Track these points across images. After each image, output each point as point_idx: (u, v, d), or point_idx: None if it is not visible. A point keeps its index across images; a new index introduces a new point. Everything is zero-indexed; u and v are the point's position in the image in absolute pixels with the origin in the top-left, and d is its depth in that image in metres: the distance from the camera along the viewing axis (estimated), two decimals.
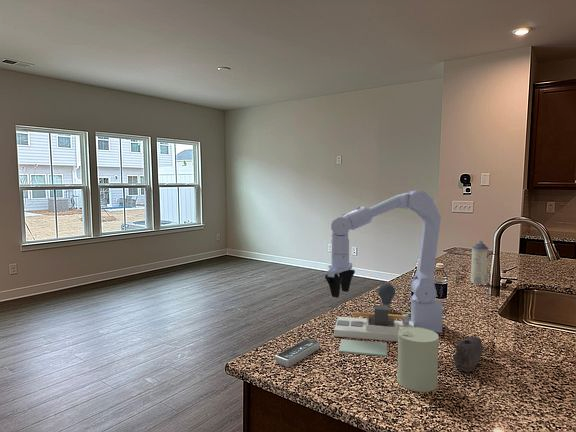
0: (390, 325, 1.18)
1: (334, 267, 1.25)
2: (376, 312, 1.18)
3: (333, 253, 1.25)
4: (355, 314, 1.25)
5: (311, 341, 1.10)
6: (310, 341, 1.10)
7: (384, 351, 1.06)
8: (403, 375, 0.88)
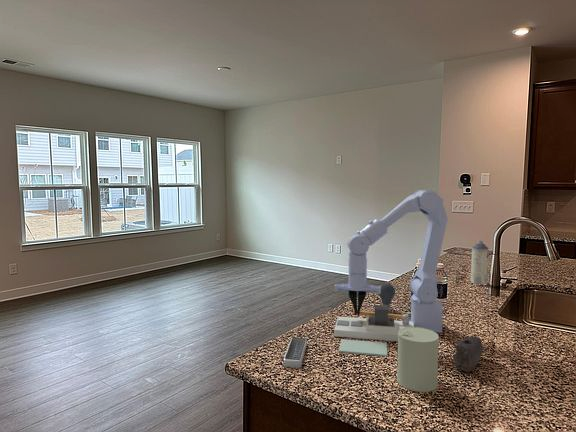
0: (390, 325, 1.18)
1: None
2: (376, 312, 1.18)
3: (351, 273, 1.22)
4: None
5: (299, 339, 1.11)
6: (298, 339, 1.11)
7: (384, 351, 1.06)
8: (403, 375, 0.88)
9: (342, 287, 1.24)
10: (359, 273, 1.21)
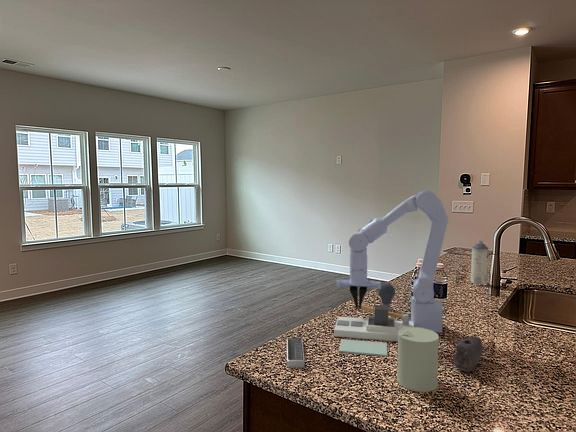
0: (390, 325, 1.18)
1: None
2: (376, 312, 1.18)
3: (351, 268, 1.29)
4: (361, 307, 1.31)
5: (295, 339, 1.11)
6: (294, 339, 1.11)
7: (384, 351, 1.06)
8: (403, 375, 0.88)
9: (344, 282, 1.30)
10: (357, 269, 1.27)
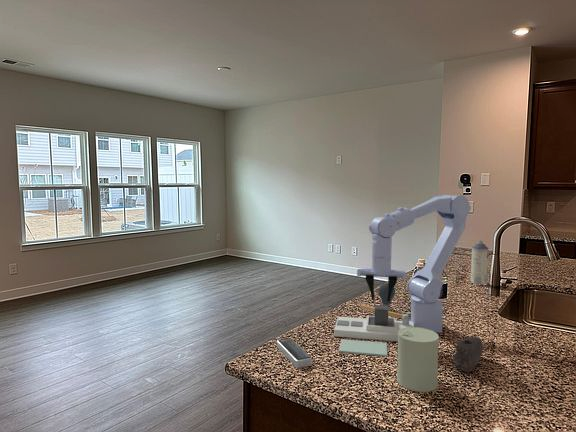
0: (390, 325, 1.18)
1: None
2: (376, 312, 1.18)
3: (378, 257, 1.16)
4: (362, 306, 1.32)
5: (285, 340, 1.11)
6: (285, 340, 1.10)
7: (384, 351, 1.06)
8: (403, 375, 0.88)
9: (365, 271, 1.19)
10: (386, 257, 1.16)
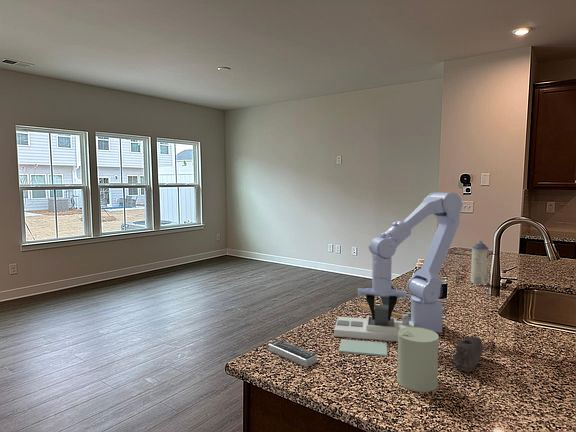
0: (390, 325, 1.18)
1: None
2: (376, 312, 1.18)
3: (378, 277, 1.17)
4: (362, 306, 1.32)
5: (277, 342, 1.09)
6: (277, 342, 1.09)
7: (384, 351, 1.06)
8: (403, 375, 0.88)
9: (366, 291, 1.19)
10: (386, 277, 1.17)
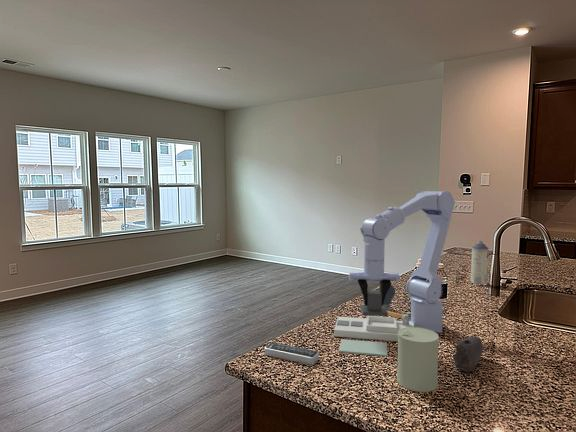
0: (383, 310, 1.13)
1: (364, 272, 1.15)
2: (369, 297, 1.13)
3: (372, 260, 1.11)
4: None
5: (272, 345, 1.07)
6: (272, 345, 1.07)
7: (384, 351, 1.06)
8: (403, 375, 0.88)
9: (358, 276, 1.13)
10: (381, 259, 1.11)
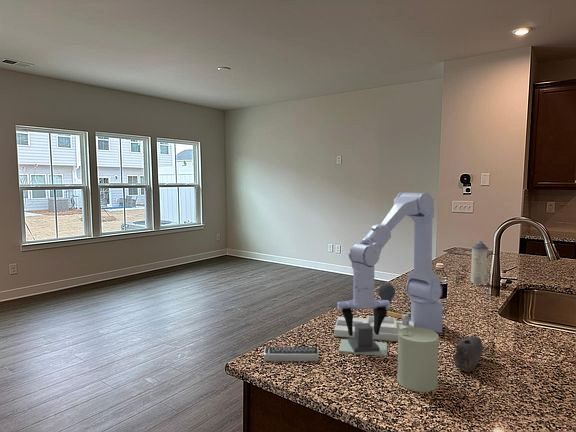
0: (374, 344, 1.08)
1: (353, 300, 1.09)
2: (360, 332, 1.07)
3: (362, 288, 1.05)
4: None
5: (269, 350, 1.04)
6: (269, 350, 1.04)
7: (384, 351, 1.06)
8: (403, 375, 0.88)
9: (348, 305, 1.06)
10: (371, 287, 1.05)
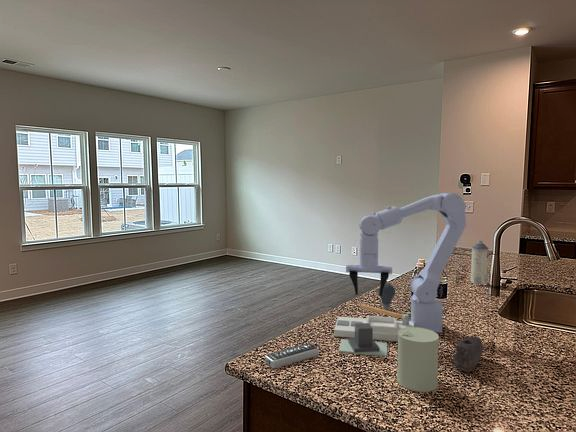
0: (374, 344, 1.08)
1: None
2: (360, 332, 1.07)
3: (362, 253, 1.23)
4: (362, 306, 1.32)
5: (272, 356, 1.00)
6: (273, 356, 1.00)
7: (384, 351, 1.06)
8: (403, 375, 0.88)
9: (354, 268, 1.24)
10: (370, 253, 1.22)
